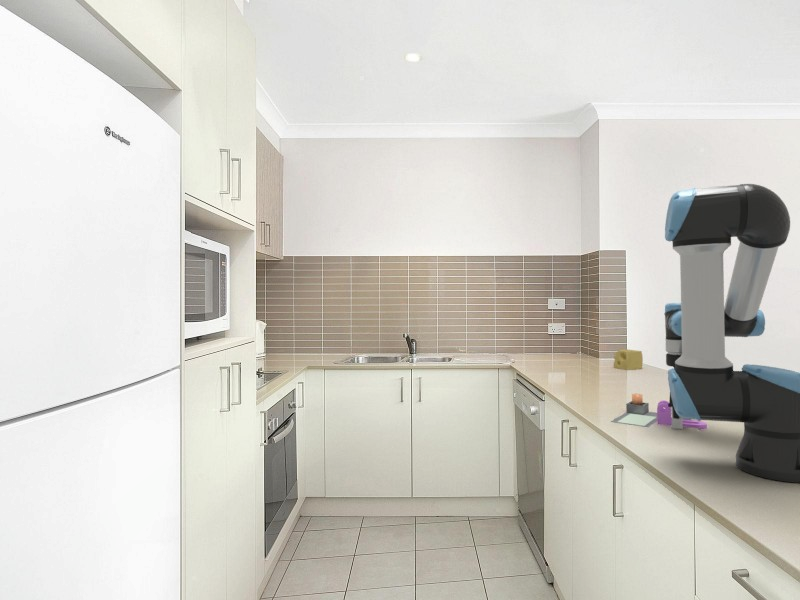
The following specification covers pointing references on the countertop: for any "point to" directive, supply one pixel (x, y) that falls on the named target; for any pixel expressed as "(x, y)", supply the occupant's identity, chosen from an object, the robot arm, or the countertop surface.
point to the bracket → (666, 419)
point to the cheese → (628, 359)
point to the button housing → (637, 408)
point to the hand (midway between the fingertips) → (681, 424)
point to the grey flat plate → (637, 419)
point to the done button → (637, 399)
